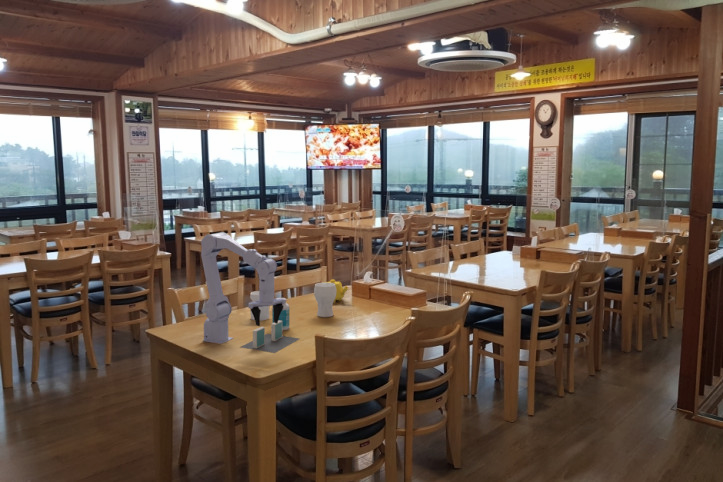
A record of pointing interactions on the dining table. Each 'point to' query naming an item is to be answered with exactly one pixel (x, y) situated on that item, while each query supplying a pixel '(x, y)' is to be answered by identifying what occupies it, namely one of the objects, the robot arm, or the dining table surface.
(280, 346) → the mat
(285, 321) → the pill bottle
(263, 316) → the vase
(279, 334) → the tile
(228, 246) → the robot arm
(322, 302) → the cup
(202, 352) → the dining table surface
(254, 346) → the tile
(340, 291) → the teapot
